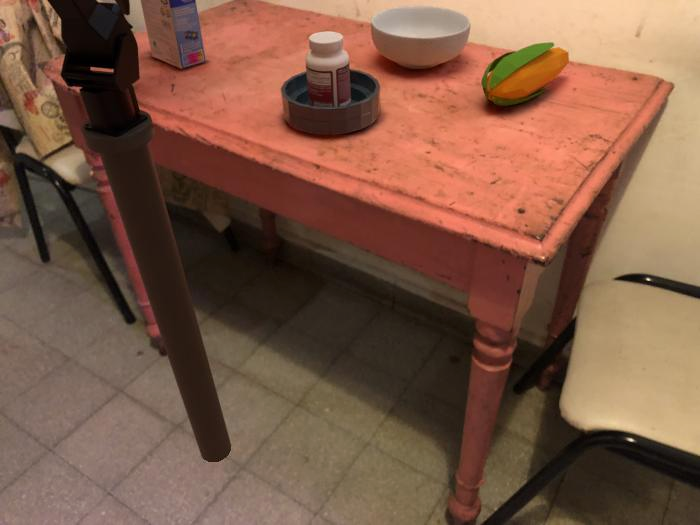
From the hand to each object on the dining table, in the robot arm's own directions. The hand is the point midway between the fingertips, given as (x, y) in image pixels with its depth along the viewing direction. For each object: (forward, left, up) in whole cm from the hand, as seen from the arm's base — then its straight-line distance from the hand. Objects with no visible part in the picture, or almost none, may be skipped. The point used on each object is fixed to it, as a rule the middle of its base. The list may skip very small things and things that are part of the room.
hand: (150, 6), depth 90 cm
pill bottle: (+1, -30, -12) cm, 32 cm away
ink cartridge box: (+10, +6, -13) cm, 18 cm away
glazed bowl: (+1, -30, -13) cm, 33 cm away
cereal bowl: (+26, -34, -13) cm, 45 cm away
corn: (+20, -54, -13) cm, 59 cm away
